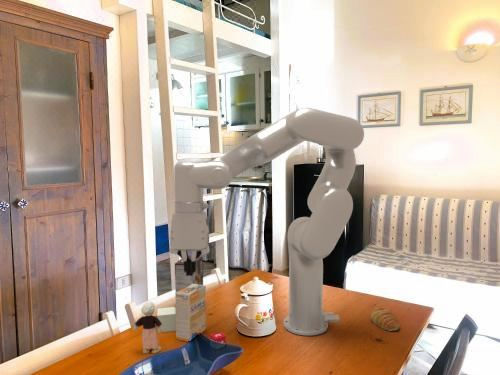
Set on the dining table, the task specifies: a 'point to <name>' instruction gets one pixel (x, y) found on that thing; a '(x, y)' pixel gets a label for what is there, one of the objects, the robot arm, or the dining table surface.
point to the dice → (218, 337)
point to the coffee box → (184, 280)
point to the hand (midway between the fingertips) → (190, 274)
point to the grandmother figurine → (149, 328)
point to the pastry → (385, 319)
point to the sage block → (167, 318)
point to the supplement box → (190, 311)
